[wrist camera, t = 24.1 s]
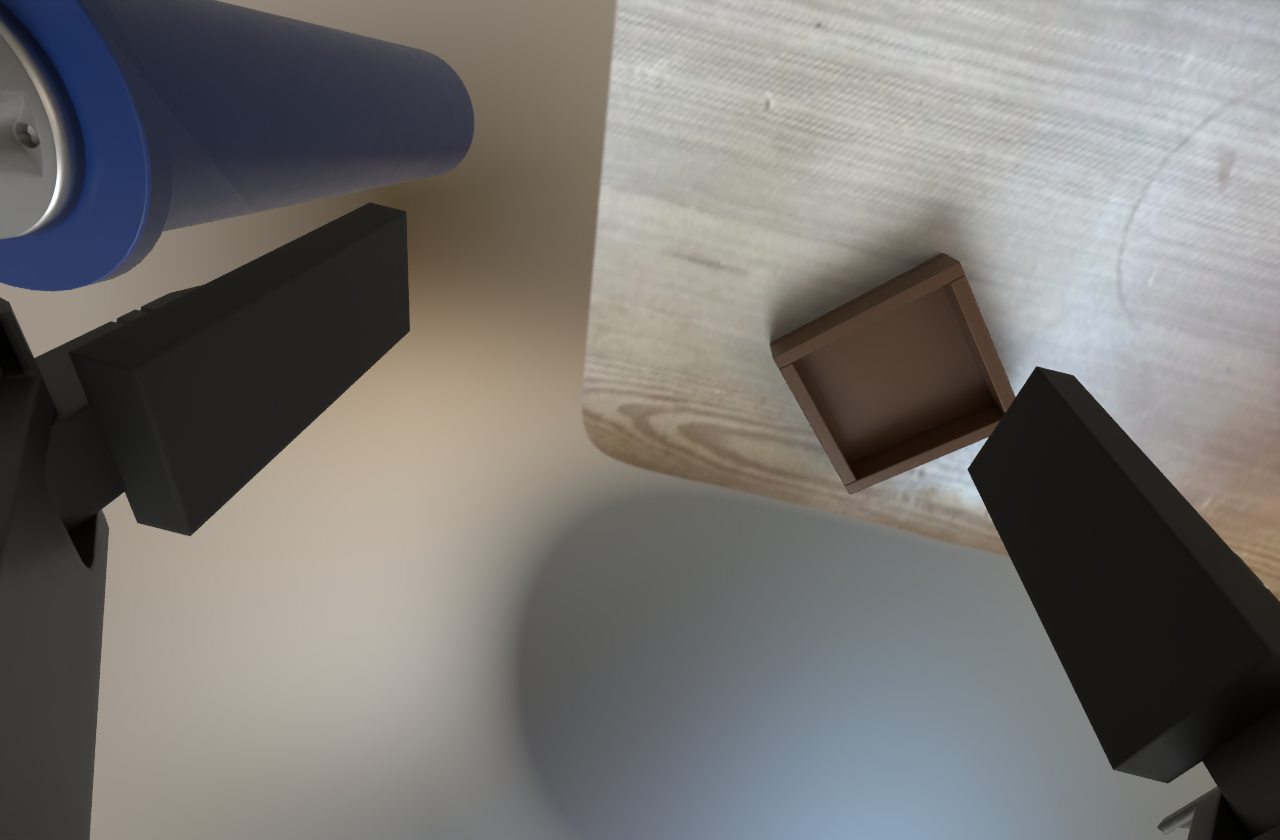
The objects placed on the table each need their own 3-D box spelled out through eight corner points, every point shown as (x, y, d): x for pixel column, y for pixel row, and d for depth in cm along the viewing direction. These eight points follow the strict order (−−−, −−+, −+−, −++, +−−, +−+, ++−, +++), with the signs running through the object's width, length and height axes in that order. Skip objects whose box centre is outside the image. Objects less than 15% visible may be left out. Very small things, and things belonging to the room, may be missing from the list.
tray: (769, 343, 37) (772, 358, 34) (943, 252, 33) (959, 261, 31) (842, 474, 40) (849, 495, 38) (1007, 403, 37) (1026, 422, 35)
